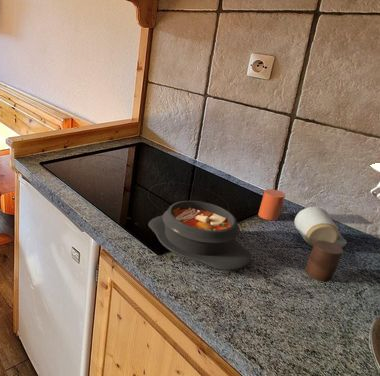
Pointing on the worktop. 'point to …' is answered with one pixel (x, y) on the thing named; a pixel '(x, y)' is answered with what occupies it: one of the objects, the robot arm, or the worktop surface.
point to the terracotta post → (271, 204)
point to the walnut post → (323, 260)
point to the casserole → (202, 234)
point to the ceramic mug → (318, 227)
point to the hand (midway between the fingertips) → (375, 196)
